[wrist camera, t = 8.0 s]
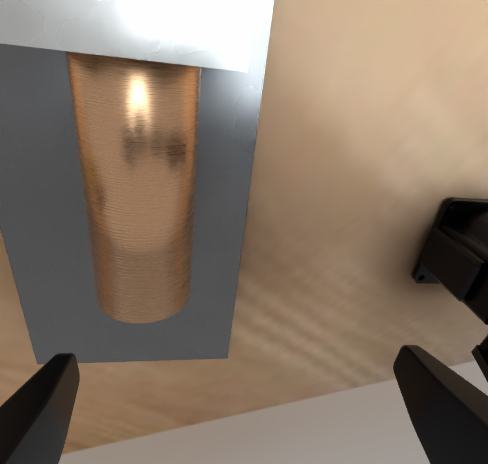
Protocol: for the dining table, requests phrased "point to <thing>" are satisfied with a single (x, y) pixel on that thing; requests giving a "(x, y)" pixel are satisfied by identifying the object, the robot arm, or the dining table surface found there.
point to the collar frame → (136, 29)
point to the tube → (137, 179)
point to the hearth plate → (75, 222)
